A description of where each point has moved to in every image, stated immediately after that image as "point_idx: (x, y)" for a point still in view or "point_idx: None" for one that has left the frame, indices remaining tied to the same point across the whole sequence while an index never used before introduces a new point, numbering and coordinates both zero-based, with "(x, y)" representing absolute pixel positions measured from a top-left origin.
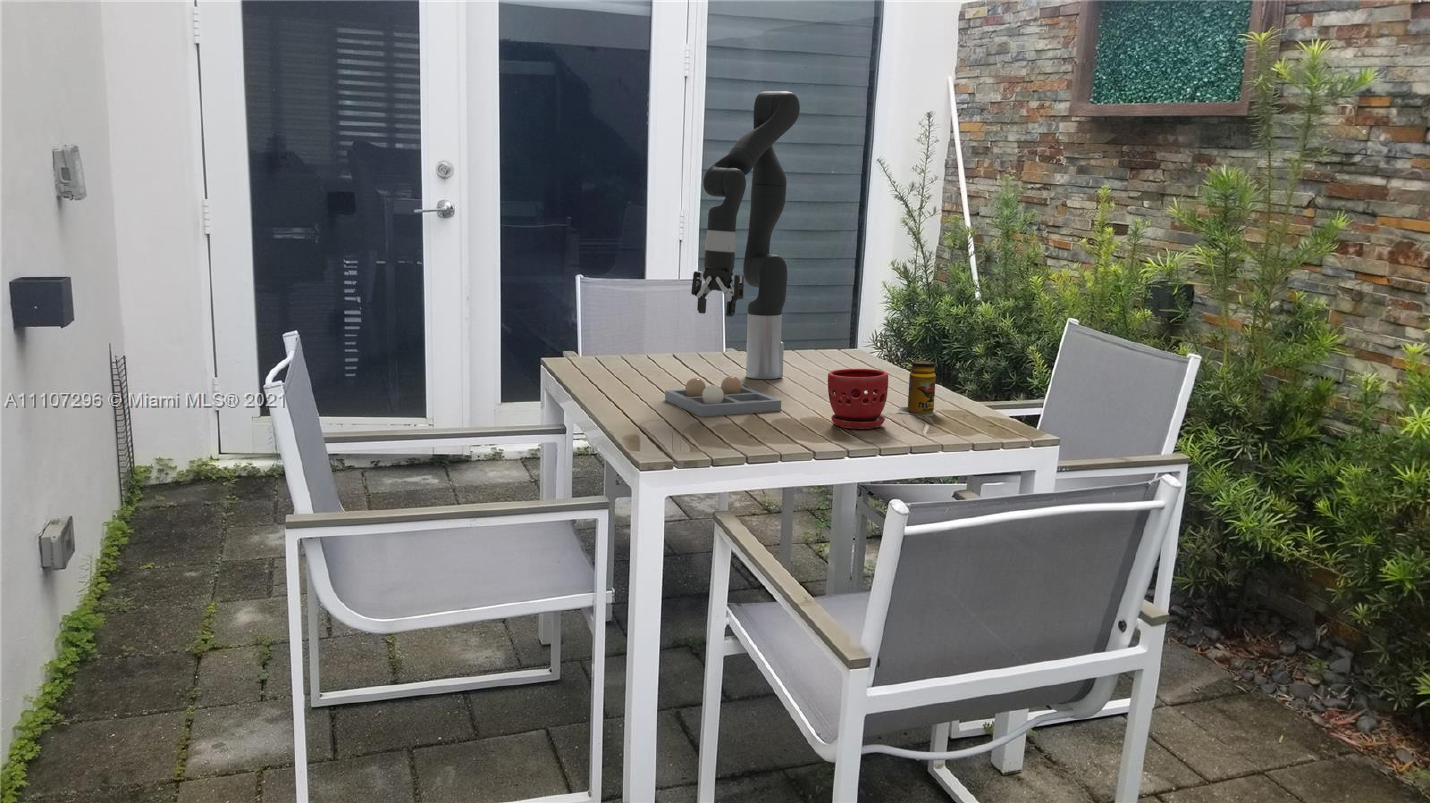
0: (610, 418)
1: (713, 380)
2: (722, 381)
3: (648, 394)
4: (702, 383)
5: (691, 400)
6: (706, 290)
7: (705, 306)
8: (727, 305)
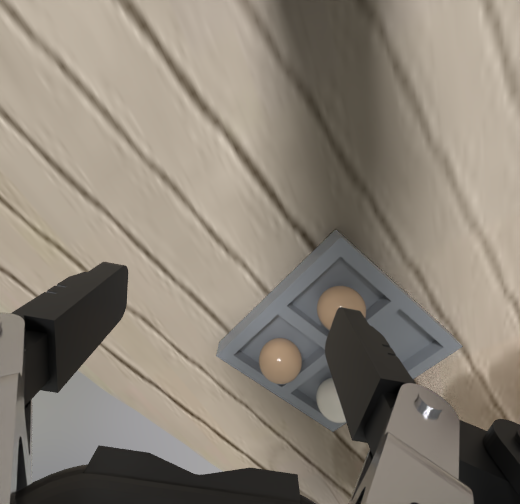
0: (220, 459)
1: (185, 48)
2: (324, 325)
3: (161, 309)
4: (298, 373)
5: (300, 405)
6: (26, 482)
7: (101, 291)
8: (347, 409)
